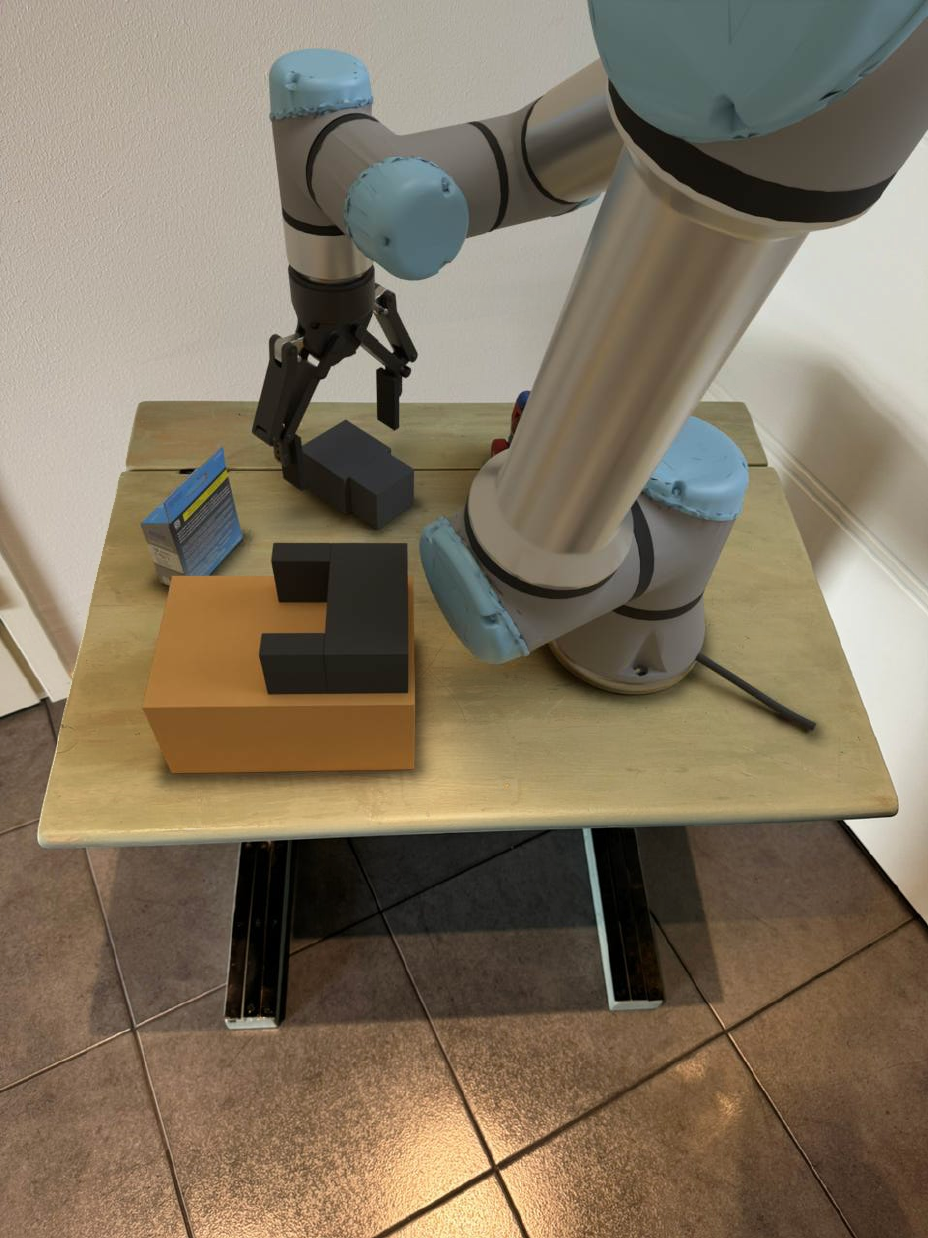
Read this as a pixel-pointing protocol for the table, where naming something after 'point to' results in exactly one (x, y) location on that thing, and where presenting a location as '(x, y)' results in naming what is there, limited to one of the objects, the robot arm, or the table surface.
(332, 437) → the black stepped block
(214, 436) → the table surface
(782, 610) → the table surface
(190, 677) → the orange and black block
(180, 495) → the blue retail box
